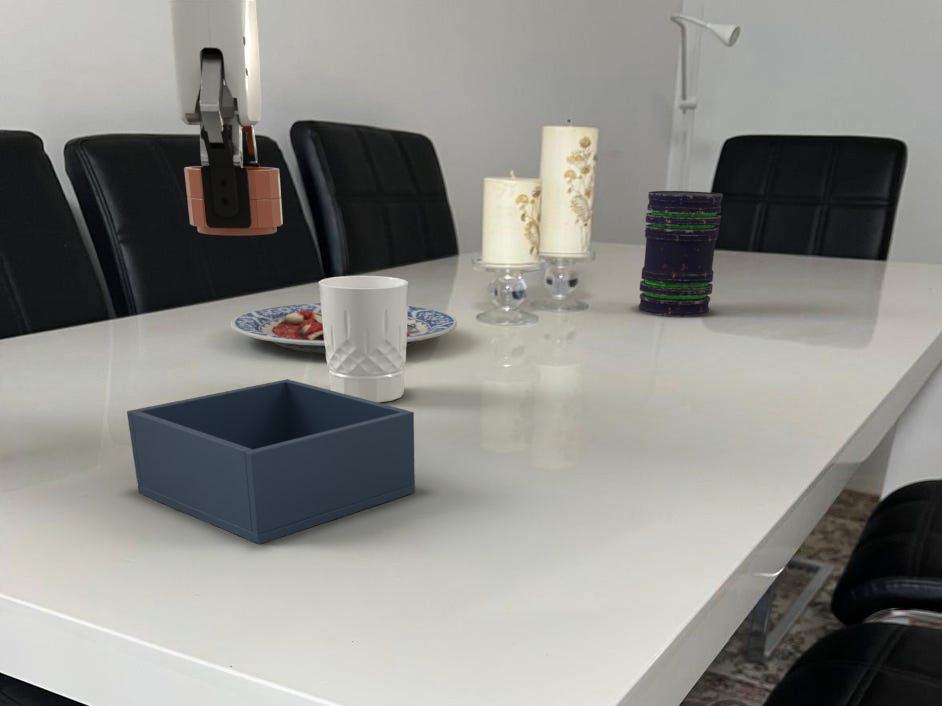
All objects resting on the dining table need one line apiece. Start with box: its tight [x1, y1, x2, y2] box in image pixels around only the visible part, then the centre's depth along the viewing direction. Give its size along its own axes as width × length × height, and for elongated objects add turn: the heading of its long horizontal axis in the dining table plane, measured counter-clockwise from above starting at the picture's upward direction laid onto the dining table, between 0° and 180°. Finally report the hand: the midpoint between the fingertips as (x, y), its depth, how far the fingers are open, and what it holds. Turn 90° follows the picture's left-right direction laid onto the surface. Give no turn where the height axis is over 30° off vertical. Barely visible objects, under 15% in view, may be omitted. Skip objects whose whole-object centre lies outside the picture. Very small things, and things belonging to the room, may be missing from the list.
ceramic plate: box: [230, 302, 458, 355], centre depth 115 cm, size 26×26×3 cm
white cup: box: [318, 275, 409, 403], centre depth 90 cm, size 8×8×10 cm
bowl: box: [183, 165, 284, 237], centre depth 75 cm, size 7×7×4 cm
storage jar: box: [638, 190, 724, 318], centre depth 135 cm, size 10×10×15 cm
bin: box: [126, 378, 416, 545], centre depth 66 cm, size 13×13×6 cm
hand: (236, 221), depth 76 cm, fingers closed on bowl, 6 cm apart
